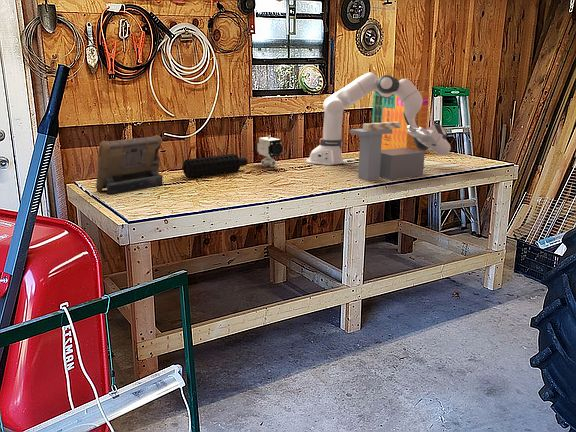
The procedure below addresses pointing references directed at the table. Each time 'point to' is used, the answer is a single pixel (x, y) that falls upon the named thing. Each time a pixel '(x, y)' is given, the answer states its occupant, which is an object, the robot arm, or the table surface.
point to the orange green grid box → (398, 120)
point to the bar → (381, 125)
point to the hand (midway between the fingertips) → (414, 127)
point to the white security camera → (269, 150)
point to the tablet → (128, 165)
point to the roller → (212, 165)
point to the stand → (370, 152)
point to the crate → (401, 163)
